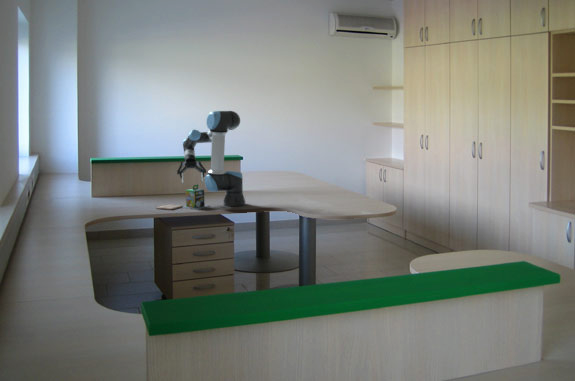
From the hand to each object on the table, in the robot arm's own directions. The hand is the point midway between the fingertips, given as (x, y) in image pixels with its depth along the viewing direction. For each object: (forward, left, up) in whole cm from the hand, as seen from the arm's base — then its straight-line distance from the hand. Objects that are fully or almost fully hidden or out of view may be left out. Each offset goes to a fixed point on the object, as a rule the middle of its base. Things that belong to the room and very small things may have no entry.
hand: (192, 181), depth 439 cm
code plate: (-7, +8, -16) cm, 19 cm away
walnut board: (+7, +18, -16) cm, 25 cm away
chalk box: (-7, +8, -16) cm, 19 cm away
